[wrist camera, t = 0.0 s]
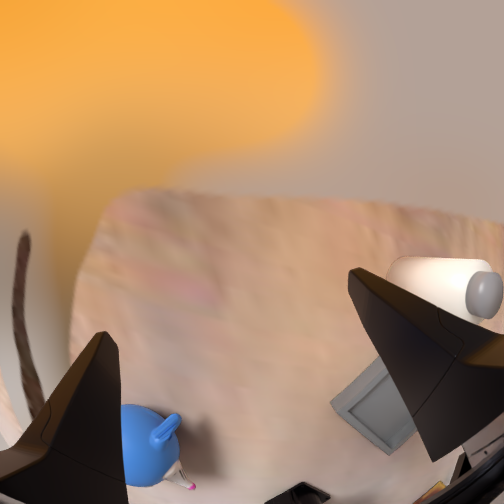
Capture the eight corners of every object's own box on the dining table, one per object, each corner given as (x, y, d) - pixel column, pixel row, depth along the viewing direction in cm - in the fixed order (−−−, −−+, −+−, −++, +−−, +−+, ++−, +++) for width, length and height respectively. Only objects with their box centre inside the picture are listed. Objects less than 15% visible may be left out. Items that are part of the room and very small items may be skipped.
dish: (449, 378, 26) (459, 384, 24) (381, 446, 26) (389, 455, 23) (411, 320, 25) (423, 324, 23) (329, 402, 25) (336, 412, 23)
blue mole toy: (166, 481, 24) (154, 528, 16) (89, 419, 23) (57, 459, 15) (236, 440, 24) (238, 495, 16) (150, 366, 24) (119, 410, 15)
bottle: (428, 279, 26) (513, 293, 14) (401, 313, 25) (484, 344, 13) (406, 246, 25) (495, 245, 13) (377, 280, 25) (463, 299, 13)
